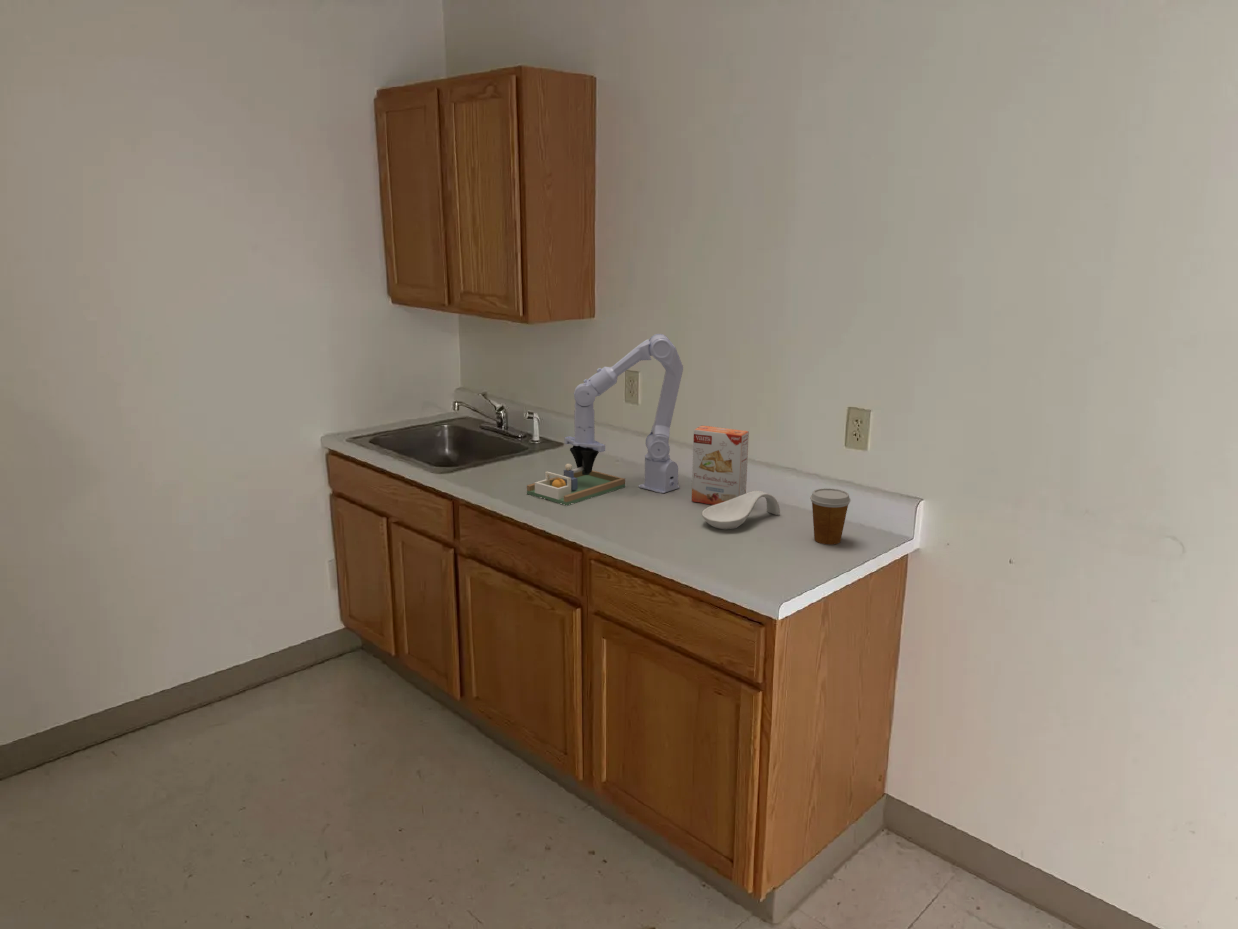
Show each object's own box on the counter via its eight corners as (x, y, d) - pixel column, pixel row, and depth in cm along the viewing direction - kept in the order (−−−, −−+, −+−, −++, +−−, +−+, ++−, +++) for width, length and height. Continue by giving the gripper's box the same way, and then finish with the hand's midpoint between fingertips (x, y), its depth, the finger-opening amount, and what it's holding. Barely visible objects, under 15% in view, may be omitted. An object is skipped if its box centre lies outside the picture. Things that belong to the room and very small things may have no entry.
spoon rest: (723, 537, 221) (724, 509, 219) (692, 524, 230) (693, 498, 228) (789, 519, 235) (791, 493, 233) (757, 508, 244) (758, 482, 242)
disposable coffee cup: (818, 531, 225) (821, 485, 222) (854, 539, 219) (857, 492, 216) (800, 541, 218) (803, 494, 215) (836, 550, 212) (840, 502, 209)
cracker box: (690, 502, 247) (692, 428, 242) (699, 496, 252) (701, 424, 247) (738, 510, 241) (741, 434, 235) (746, 504, 246) (749, 429, 241)
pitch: (625, 486, 261) (625, 466, 259) (566, 505, 244) (566, 483, 242) (585, 476, 271) (585, 456, 270) (527, 493, 254) (526, 472, 252)
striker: (594, 483, 259) (594, 459, 257) (572, 490, 253) (572, 465, 251) (582, 480, 262) (582, 456, 260) (560, 487, 256) (559, 462, 254)
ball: (559, 495, 250) (569, 491, 252) (558, 481, 248) (568, 478, 251) (549, 492, 252) (559, 489, 255) (548, 479, 251) (558, 475, 254)
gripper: (556, 424, 257) (557, 469, 261) (593, 432, 248) (593, 479, 251) (574, 420, 262) (574, 465, 266) (610, 428, 253) (610, 474, 256)
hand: (584, 471), depth 259 cm, fingers closed on striker, 2 cm apart
